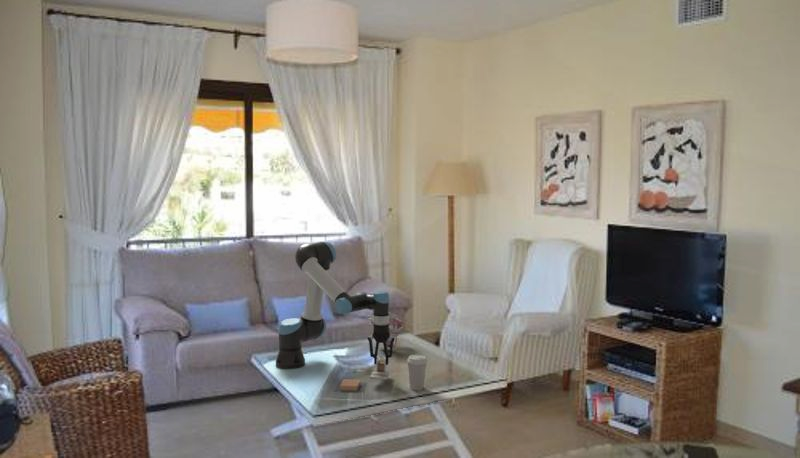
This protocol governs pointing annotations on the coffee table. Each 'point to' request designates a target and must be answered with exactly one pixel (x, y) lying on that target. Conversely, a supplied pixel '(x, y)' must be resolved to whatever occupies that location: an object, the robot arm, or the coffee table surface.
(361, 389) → the mat
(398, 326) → the flower
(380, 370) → the tapered wooden block
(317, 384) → the coffee table surface
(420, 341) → the coffee table surface
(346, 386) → the tile
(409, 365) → the coffee cup
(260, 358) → the coffee table surface
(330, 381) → the coffee table surface
